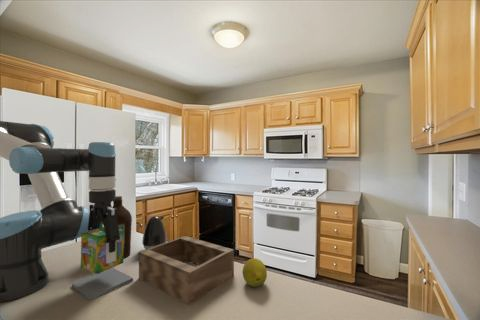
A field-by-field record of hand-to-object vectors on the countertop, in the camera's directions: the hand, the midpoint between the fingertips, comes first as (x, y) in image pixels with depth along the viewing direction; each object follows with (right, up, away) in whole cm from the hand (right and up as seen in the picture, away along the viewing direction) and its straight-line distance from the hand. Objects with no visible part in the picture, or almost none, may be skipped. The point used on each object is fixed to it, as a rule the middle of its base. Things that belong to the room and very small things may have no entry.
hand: (103, 257), depth 76 cm
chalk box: (0, -3, 0) cm, 3 cm away
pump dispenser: (+7, -9, +28) cm, 30 cm away
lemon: (+50, -9, -1) cm, 50 cm away
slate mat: (0, -8, 0) cm, 8 cm away
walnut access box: (+26, -8, +5) cm, 28 cm away
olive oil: (-7, -9, +22) cm, 24 cm away
